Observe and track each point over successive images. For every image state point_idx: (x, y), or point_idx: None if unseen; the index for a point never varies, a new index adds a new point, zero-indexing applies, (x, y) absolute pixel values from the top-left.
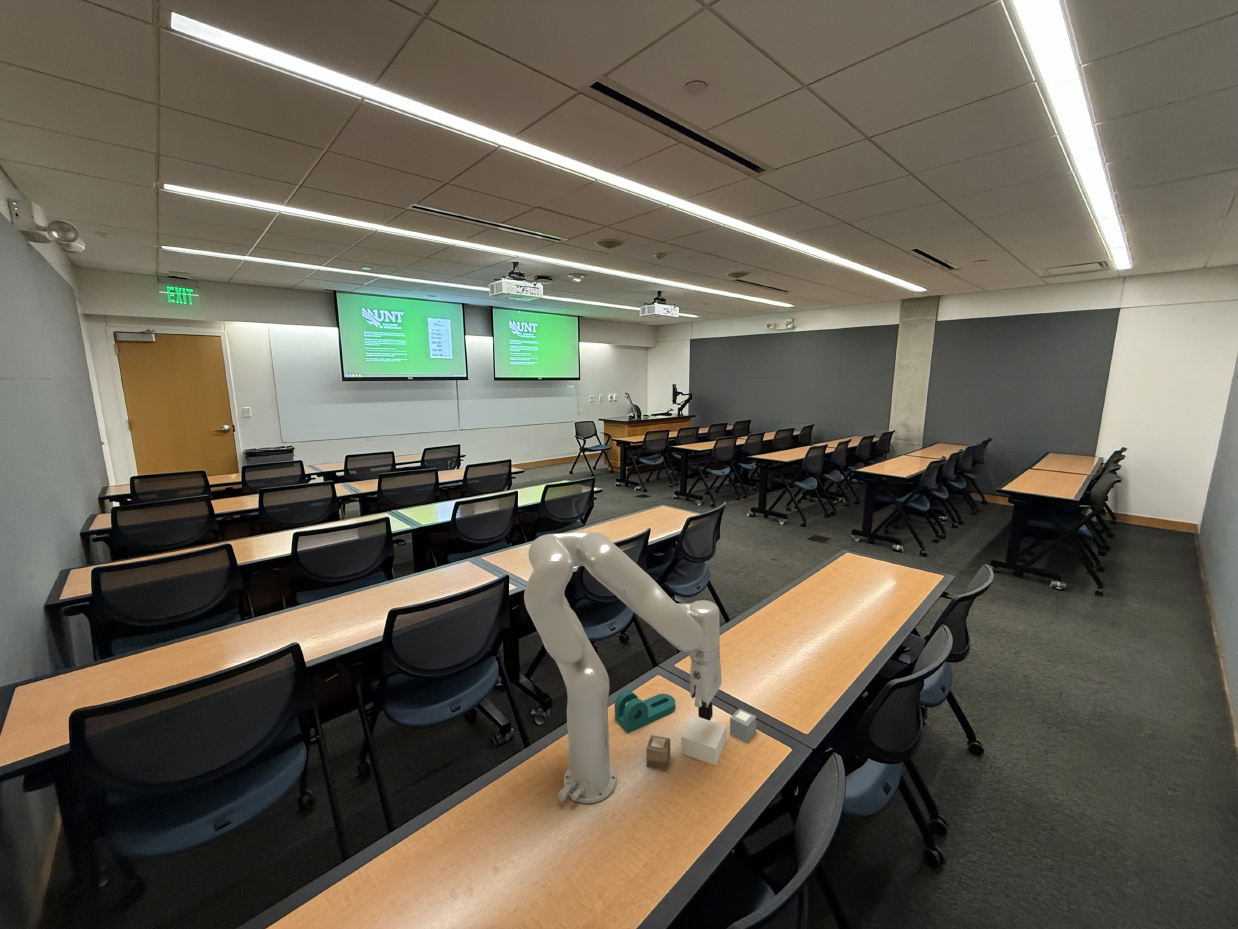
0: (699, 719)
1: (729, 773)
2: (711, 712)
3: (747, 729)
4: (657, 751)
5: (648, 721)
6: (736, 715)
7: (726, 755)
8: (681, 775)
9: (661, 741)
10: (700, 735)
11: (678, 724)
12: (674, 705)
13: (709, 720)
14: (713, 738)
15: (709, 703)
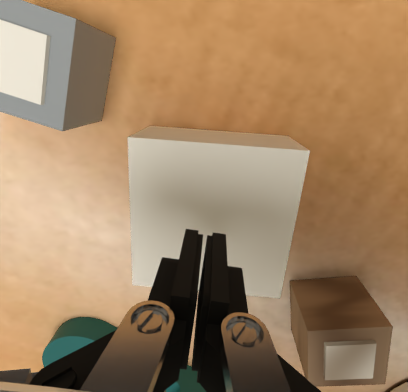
0: (146, 259)
1: (311, 75)
2: (195, 251)
3: (83, 23)
4: (387, 351)
5: (181, 370)
6: (28, 100)
7: (219, 108)
8: (364, 232)
9: (342, 356)
10: (244, 233)
11: (142, 293)
12: (79, 332)
13: (225, 236)
14: (243, 176)
15: (186, 315)
